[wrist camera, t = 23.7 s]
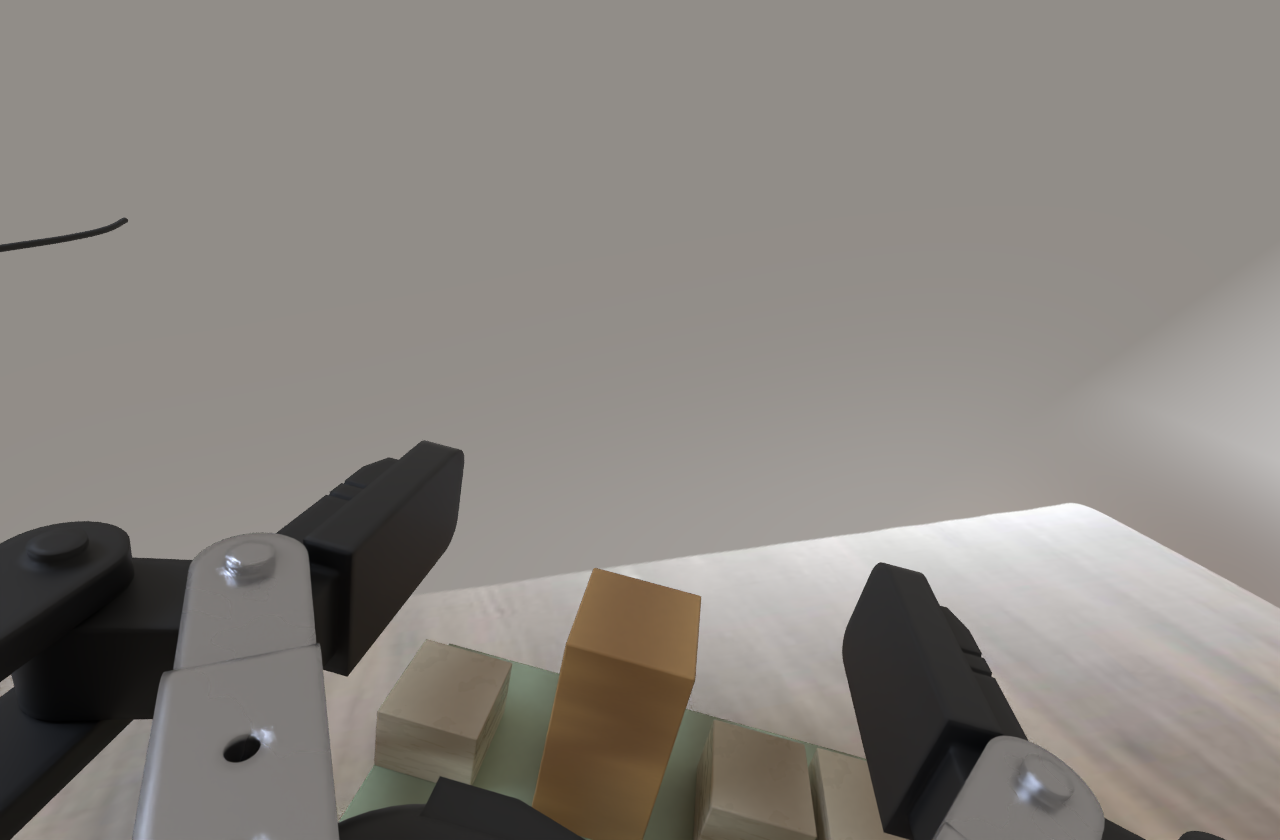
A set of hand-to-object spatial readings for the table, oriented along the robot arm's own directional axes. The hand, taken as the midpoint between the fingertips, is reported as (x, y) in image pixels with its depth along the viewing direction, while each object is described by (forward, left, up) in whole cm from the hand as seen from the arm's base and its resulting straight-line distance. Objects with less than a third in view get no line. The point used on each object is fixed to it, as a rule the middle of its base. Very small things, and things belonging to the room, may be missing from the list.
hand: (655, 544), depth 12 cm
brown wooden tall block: (-5, +6, -17) cm, 19 cm away
